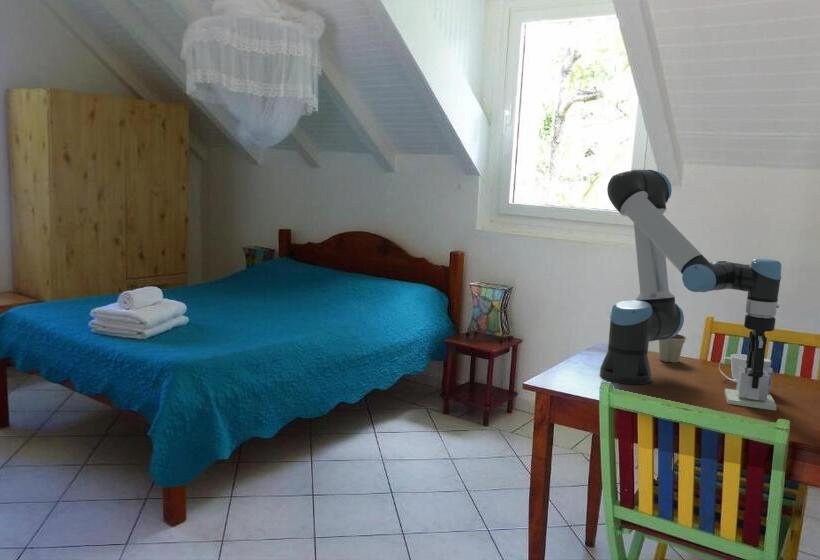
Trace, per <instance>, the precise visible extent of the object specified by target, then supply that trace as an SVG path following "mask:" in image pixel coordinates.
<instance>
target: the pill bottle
mask: <svg viewBox="0 0 820 560" xmlns="http://www.w3.org/2000/svg"><path fill="white" fill-rule="evenodd" d="M771 365H772V360H771V359H769V358H765V357H764V366H763V370H767V372H768V374H769V376H770V380H769V387H768V394H770V393H771V392H770V391H771V384H772V380H773V372H774V370H773V368H772V367H771Z"/></svg>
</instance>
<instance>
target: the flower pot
mask: <svg viewBox="0 0 820 560" xmlns="http://www.w3.org/2000/svg"><path fill="white" fill-rule="evenodd" d="M687 338H688V337H686V335H684V334H683V335H682V334H679V333H678V334H676V335H675V336H673V337H670V338H668V339H665V340H658V346H659V347H658V349H659V351H658V352H659V353H658V354H659V358H658V359H659V360H660V361H662V362H666V363H668V362H670V363H673V364H675V363H678V362H679V361H680V357H681V353H682V350H683V345H684V344H685V342H686V340H687Z"/></svg>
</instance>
